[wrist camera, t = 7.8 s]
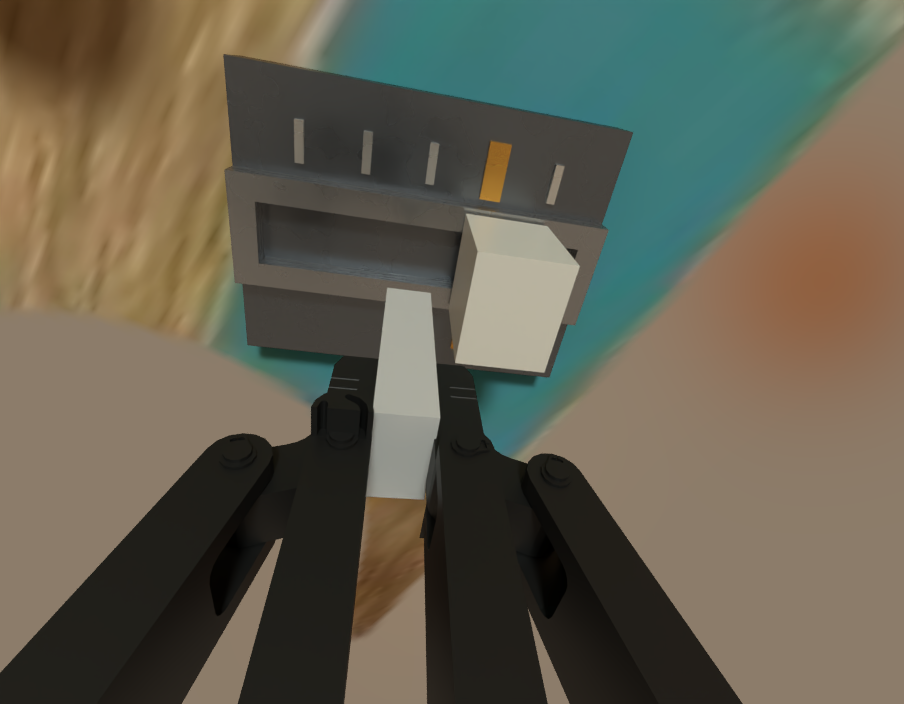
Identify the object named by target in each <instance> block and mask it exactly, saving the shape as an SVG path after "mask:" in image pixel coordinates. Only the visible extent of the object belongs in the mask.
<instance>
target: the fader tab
mask: <svg viewBox="0 0 904 704" xmlns="http://www.w3.org/2000/svg"><path fill="white" fill-rule="evenodd" d="M579 267H580V266H579V264H578V263H577V262H576V261H575V259H574V258H573V257H572V256H571V255H570V253H569V252H568V251H567V250H566V248H565V247H564V246H563V245H562V243H561V242H560V241H559V240H558V238H557V237H556V236H555V235H554V234H553V232H552V231H551V230H550V229H549V227H548V226H543V225H537V224H530V223H524V222H517V221H511V220H504V219H498V218H492V217H485V216H479V215H472V214H466V216H465V222H464V227H463V233H462V238H461V244H460V249H459V255H458V260H457V266H456V271H455V277H454V282H453V288H452V293H451V299H450V304H449V315H450V324H451V333H452V342H453V350H454V359H455V363H459V364H468V365H477V366H487V367H496V368H505V369H514V370H524V371H533V372H542V373H544V372H545V369H546V366H547V363H548V360H549V357H550V354H551V351H552V348H553V345H554V342H555V339H556V336H557V333H558V330H559V327H560V324H561V321H562V318H563V315H564V312H565V309H566V306H567V303H568V300H569V297H570V294H571V291H572V288H573V285H574V282H575V279H576V276H577V273H578V270H579Z"/></svg>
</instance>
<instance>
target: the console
mask: <svg viewBox="0 0 904 704" xmlns="http://www.w3.org/2000/svg"><path fill="white" fill-rule="evenodd" d="M223 55H224V67H225V79H226V91H227V103H228V115H229V127H230V139H231V151H232V163H233V166H231V167H229V168H227V169H225V180H226V191H227V201H228V212H229V223H230V234H231V245H232V255H233V266H234V277H235V283H241V284H243V295H244V307H245V319H246V331H247V343H248V345H251V346H261V347H270V348H279V349H289V350H298V351H307V352H317V353H326V354H335V355H345V356H356V357H366V358H376V359H379V353H380V345H381V336H382V328H383V319H384V311H385V302H386V294H387V288H395V289H403V290H411V291H419V292H427V293H431V303H432V316H433V329H434V342H435V355H436V363H438V364H448V365H459V366H464V367H465V368H466V369H475V370H485V371H494V372H503V373H513V374H522V375H531V376H541V377H549V376H550V374H551V371H552V368H553V365H554V362H555V359H556V356H557V353H558V350H559V347H560V344H561V342H562V339H563V336H564V333H565V330H566V327H567V324H569V325H575V324H576V321H577V318H578V315H579V312H580V310H581V307H582V304H583V301H584V298H585V295H586V293H587V290H588V287H589V284H590V281H591V279H592V276H593V273H594V270H595V267H596V264H597V262H598V259H599V256H600V253H601V250H602V247H603V245H604V242H605V239H606V236H607V233H608V229H607V228H606V227H605V226H603V225H602V222H603V219H604V216H605V213H606V210H607V207H608V204H609V202H610V199H611V196H612V193H613V190H614V187H615V184H616V181H617V178H618V175H619V172H620V169H621V167H622V164H623V161H624V158H625V155H626V152H627V149H628V146H629V143H630V140H631V137H632V134H633V132H630V131H627V130H623V129H620V128H616V127H611V126H605V125H600V124H595V123H590V122H585V121H579V120H574V119H569V118H564V117H558V116H553V115H548V114H543V113H537V112H532V111H527V110H522V109H517V108H511V107H506V106H501V105H496V104H490V103H485V102H480V101H475V100H469V99H464V98H459V97H454V96H449V95H443V94H438V93H433V92H428V91H422V90H417V89H412V88H407V87H401V86H396V85H391V84H386V83H381V82H375V81H370V80H365V79H360V78H354V77H349V76H344V75H339V74H333V73H328V72H323V71H318V70H313V69H307V68H302V67H297V66H292V65H286V64H281V63H276V62H271V61H265V60H260V59H255V58H250V57H245V56H238V55H226V54H223ZM466 214H472V215H479V216H485V217H492V218H498V219H504V220H511V221H517V222H524V223H530V224H537V225H543V226H548V227H549V229H550V230H551V231H552V232H553V234H554V235H555V236H556V237H557V238H558V240H559V241H560V242H561V243H562V245H563V246H564V247H565V248H566V250H567V251H568V252H569V253H570V255H571V256H572V257H573V258H574V259H575V261H576V262H577V263H578V264H579V266H580V267H579V270H578V273H577V276H576V279H575V282H574V285H573V288H572V291H571V294H570V297H569V300H568V303H567V306H566V309H565V312H564V315H563V318H562V321H561V324H560V327H559V330H558V333H557V336H556V339H555V342H554V345H553V348H552V351H551V354H550V357H549V360H548V363H547V366H546V369H545V372H544V373H542V372H533V371H524V370H514V369H505V368H496V367H487V366H477V365H468V364H459V363H455V359H454V350H453V342H452V333H451V324H450V315H449V304H450V299H451V293H452V288H453V282H454V277H455V271H456V266H457V260H458V255H459V249H460V244H461V238H462V233H463V227H464V222H465V216H466Z"/></svg>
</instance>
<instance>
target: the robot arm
mask: <svg viewBox="0 0 904 704" xmlns="http://www.w3.org/2000/svg"><path fill="white" fill-rule="evenodd" d="M425 492H426V501H427V504H426V509H425V514H424V519H423V524H422V529H421V533H420V538H424V563H425V615H426V666H427V704H548V703H547V698H546V694H545V689H544V684H543V679H542V674H541V669H540V665H539V660H538V655H537V651H536V646H535V641H534V636H533V631H532V627H531V622H530V617H529V612H530V614H531V616H532V618H533V621H534V623H535V625H536V628H537V630H538V632H539V634H540V637H541V639H542V641H543V643H544V646H545V648H546V650H547V653H548V655H549V657H550V660H551V662H552V664H553V666H554V669H555V671H556V673H557V676H558V678H559V680H560V682H561V685H562V687H563V689H564V692H565V694H566V696H567V698H568V701H569V703H570V704H742V702H741V701H740V699H739V698H738V696H737V695H736V694H735V692H734V691H733V689H732V688H731V687H730V685H729V684H728V682H727V681H726V679H725V678H724V676H723V675H722V674H721V672H720V671H719V669H718V668H717V666H716V665H715V664H714V662H713V661H712V659H711V658H710V656H709V655H708V654H707V652H706V651H705V649H704V648H703V646H702V645H701V644H700V642H699V641H698V639H697V638H696V636H695V635H694V634H693V632H692V631H691V629H690V628H689V626H688V625H687V623H686V622H685V621H684V619H683V618H682V616H681V615H680V613H679V612H678V611H677V609H676V608H675V606H674V605H673V603H672V602H671V601H670V599H669V598H668V596H667V595H666V593H665V592H664V591H663V589H662V588H661V586H660V585H659V583H658V582H657V580H656V579H655V578H654V576H653V575H652V573H651V572H650V570H649V569H648V568H647V566H646V565H645V563H644V562H643V560H642V559H641V558H640V556H639V555H638V553H637V552H636V550H635V549H634V548H633V546H632V545H631V543H630V542H629V540H628V539H627V537H626V536H625V535H624V533H623V532H622V530H621V529H620V527H619V526H618V525H617V523H616V522H615V520H614V519H613V518H612V516H611V515H610V513H609V512H608V511H607V509H606V507H605V506H604V505H603V503H602V502H601V501H600V499H599V497H598V496H597V495H596V493H595V492H594V490H593V489H592V487H591V486H590V485H589V483H588V482H587V480H586V479H585V478H584V476H583V475H582V473H581V472H580V470H579V469H578V468H577V467H576V466H575V465H574V464H573V463H571V462H570V461H568V460H567V459H565V458H563V457H560V456H557V455H554V454H539V455H536V456H533V457H532V459H531V460H530V461H529V462H528V464H527V463H524V462H521V461H518V460H514V459H511V458H509V457H506V456H504V455H502V454H500V453H499V452H497V451H496V450H495V449H494V447H493V444H492V442H491V440H489V439H488V438H487V437H486V436H485V435H484V433H483V427H482V422H481V417H480V412H479V407H478V401H477V396H476V391H475V386H474V380H473V376H472V375H471V374H470V373H469V371H468V370H467V369H466V368H465V367H464V366H459V365H448V364H438V363H436V355H435V342H434V329H433V316H432V303H431V293H427V292H419V291H411V290H403V289H395V288H387V294H386V302H385V311H384V319H383V328H382V336H381V345H380V353H379V359H376V358H366V357H356V356H344V357H342V358H341V359H340V360H339V361H338V362H337V363H336V364H335V366H334V369H333V373H332V378H331V381H330V384H329V388H328V392H327V393H326V394H323V395H322V396H320V397H319V398H317V399H316V400H315V402H314V403H313V405H312V406H311V435H309V436H308V437H306V438H305V439H303V440H300V441H298V442H295V443H291V444H287V445H281V446H275V447H272V446H271V445H270V444H269V442H268V441H267V440H266V439H264V438H262V437H260V436H257V435H254V434H243V433H242V434H236V435H230V436H227V437H225V438H222V439H220V440H218V441H216V442H215V443H213V444H212V445H211V446H210V447H208V448H207V449H206V450H205V451H204V453H203V454H202V455H201V456H200V457H199V458H198V459H197V460H196V461H195V462H194V463H193V464H192V466H190V468H189V469H188V470H187V471H186V472H185V473H184V474H183V475H182V476H181V477H180V478H179V480H178V481H177V482H176V483H175V484H174V485H173V486H172V487H171V488H170V489H169V491H167V493H166V494H165V495H164V496H163V497H162V498H161V499H160V500H159V501H158V502H157V503H156V505H155V506H154V507H153V508H152V509H151V510H150V511H149V512H148V513H147V514H146V515H145V517H144V518H143V519H142V520H141V521H140V522H139V523H138V524H137V525H136V526H135V527H134V528H133V529H132V531H131V532H130V533H129V534H128V535H127V536H126V537H125V538H124V539H123V540H122V541H121V543H120V544H119V545H118V546H117V547H116V548H115V549H114V550H113V551H112V552H111V553H110V554H109V555H108V557H107V558H106V559H105V560H104V561H103V562H102V563H101V564H100V565H99V566H98V567H97V568H96V570H95V571H94V572H93V573H92V574H91V575H90V576H89V577H88V578H87V579H86V580H85V582H84V583H83V584H82V585H81V586H80V587H79V588H78V589H77V590H76V591H75V592H74V593H73V595H72V596H71V597H70V598H69V599H68V600H67V601H66V602H65V603H64V604H63V605H62V607H61V608H60V609H59V610H58V611H57V612H56V613H55V614H54V615H53V616H52V617H51V618H50V620H49V621H48V622H47V623H46V624H45V625H44V626H43V627H42V628H41V629H40V630H39V631H38V632H37V634H36V635H35V636H34V637H33V638H32V639H31V640H30V641H29V642H28V643H27V645H26V646H25V647H24V648H23V649H22V650H21V651H20V652H19V653H18V654H17V655H16V656H15V658H14V659H13V660H12V661H11V662H10V663H9V664H8V665H7V666H6V667H5V668H4V669H3V671H2V672H1V673H0V704H182V702H183V700H184V699H185V697H186V695H187V693H188V692H189V690H190V688H191V686H192V685H193V683H194V681H195V680H196V678H197V676H198V674H199V673H200V671H201V669H202V667H203V666H204V664H205V662H206V661H207V659H208V657H209V656H210V654H211V652H212V650H213V649H214V647H215V645H216V643H217V642H218V640H219V638H220V636H221V635H222V633H223V631H224V630H225V628H226V626H227V624H228V623H229V621H230V619H231V617H232V616H233V614H234V612H235V610H236V609H237V607H238V605H239V603H240V602H241V600H242V598H243V597H244V595H245V593H246V592H247V590H248V588H249V586H250V585H251V583H252V581H253V580H254V578H255V576H256V574H257V573H258V571H259V569H260V567H261V566H262V564H263V562H264V561H265V559H266V557H267V555H268V554H269V552H270V550H271V548H272V547H273V545H274V543H275V540H276V539H280V538H283V540H282V544H281V548H280V551H279V555H278V559H277V562H276V566H275V570H274V573H273V577H272V581H271V584H270V588H269V592H268V595H267V599H266V603H265V606H264V610H263V613H262V617H261V621H260V624H259V628H258V632H257V635H256V639H255V643H254V646H253V650H252V654H251V657H250V661H249V665H248V668H247V672H246V676H245V680H244V683H243V687H242V690H241V694H240V698H239V701H238V704H344V698H345V689H346V680H347V671H348V660H349V652H350V643H351V633H352V624H353V614H354V605H355V596H356V586H357V577H358V568H359V558H360V549H361V539H362V530H363V521H364V511H365V501H366V497H384V498H403V499H422V500H424V497H425ZM528 609H529V612H528Z"/></svg>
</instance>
